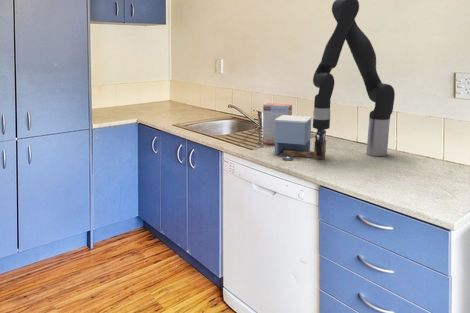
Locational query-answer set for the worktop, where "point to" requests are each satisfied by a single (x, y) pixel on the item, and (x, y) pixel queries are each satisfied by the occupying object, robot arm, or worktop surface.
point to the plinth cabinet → (292, 133)
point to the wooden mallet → (307, 154)
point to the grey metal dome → (287, 158)
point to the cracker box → (268, 120)
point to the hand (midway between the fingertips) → (319, 154)
